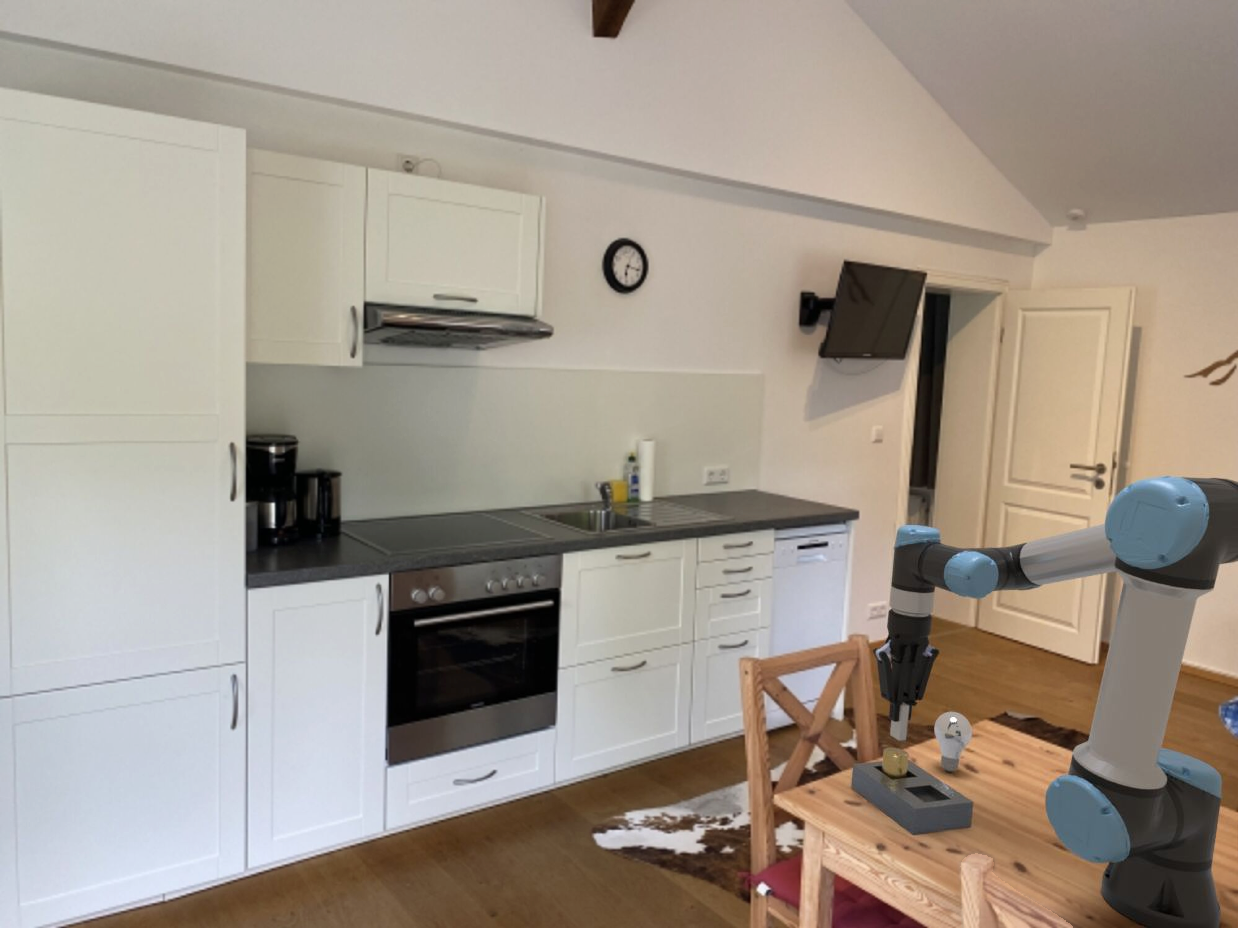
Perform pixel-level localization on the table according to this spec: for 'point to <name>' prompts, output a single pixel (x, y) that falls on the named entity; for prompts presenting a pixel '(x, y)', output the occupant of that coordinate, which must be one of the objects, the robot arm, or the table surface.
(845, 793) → the table surface
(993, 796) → the table surface
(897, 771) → the brass cylinder
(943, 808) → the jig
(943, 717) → the light bulb
